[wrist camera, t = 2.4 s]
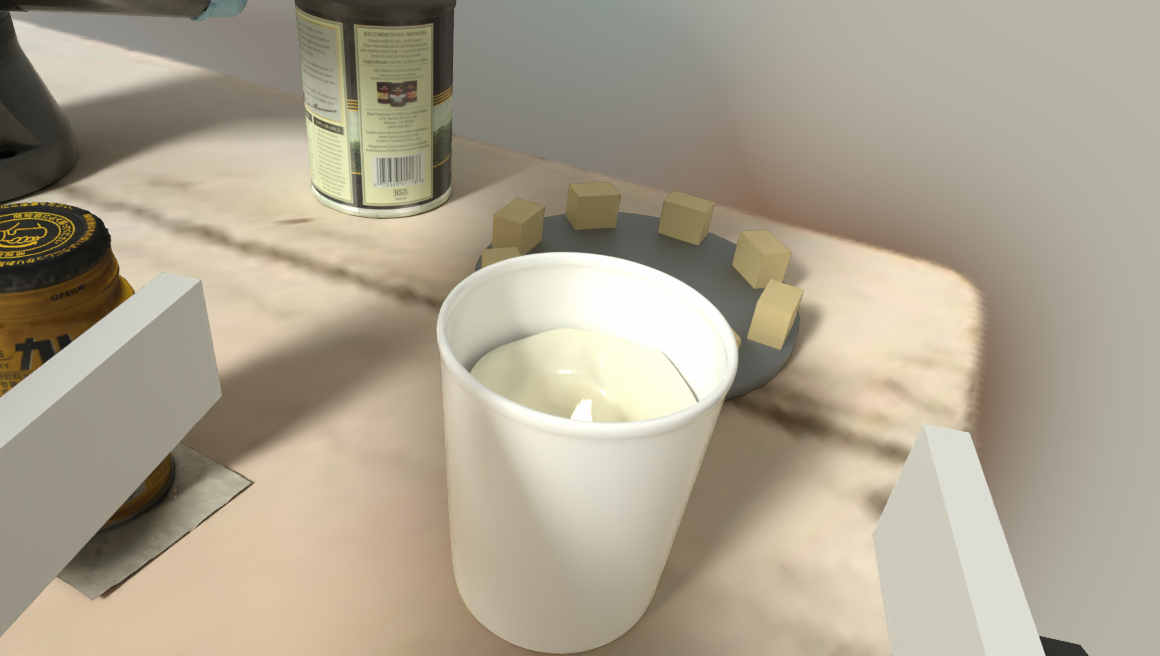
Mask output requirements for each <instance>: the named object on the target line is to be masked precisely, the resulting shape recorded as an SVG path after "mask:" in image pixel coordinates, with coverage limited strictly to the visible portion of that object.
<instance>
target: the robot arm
mask: <svg viewBox="0 0 1160 656" xmlns="http://www.w3.org/2000/svg"><path fill="white" fill-rule="evenodd" d="M246 4H247V0H0V202H3V201H6V200H10V199H13V198H17V197H20V196H23V195H26V194H28V193H31V192H34V191H36V190H38V189H41V188H43V187H45V186H47V185H49V184H51V183H53V182H55V181H56V180H58V179H59V178H61V177H62V176H64V175H65V174H66V173H67V172H69V171H70V170H71V168H72V167H73V166H74V165H75V163H76V161H77V158H78V151H77V147H76V143H75V140H74V136H73V132H72V128H71V125H70V123H69V121H68V119H67V117H66V116H65V114H64V113H63V111H62V110H61V108H60V107H59V105H58V104H57V102H56V100H55V99H54V97H53V96H52V94H51V93H50V91H49V90H48V88H47V87H46V85H45V84H44V82H43V81H42V79H41V78H40V76H39V75H38V73H37V72H36V70H35V69H34V67H33V66H32V64H31V63H30V61H29V60H28V58H27V57H26V55H25V53H24V52H23V50H22V49H21V47H20V45H19V43H18V40H17V36H16V33H15V29H14V26H13V22H12V19H11V16H10V12H9V11H24V12H28V11H32V12H56V13H80V14H102V15H126V16H127V15H128V16H150V17H151V16H152V17H173V18H174V17H175V18H190V19H191V20H193V21H203V20H205V19H207V18H222V17H223V18H224V17H233V16H236V15H238V14H239V13H241V12H242V11H243V9H244V8H245V6H246ZM221 396H222V392H221V387H220V381H219V376H218V370H217V364H216V359H215V353H214V348H213V342H212V337H211V331H210V326H209V320H208V315H207V309H206V304H205V298H204V293H203V287H202V281H201V280H200V279H195V278H190V277H185V276H180V275H175V274H170V273H165V272H162V273H161V274H160V275H158V276H157V277H156V278H154V279H153V280H152V281H151V282H149V283H148V284H147V285H145V286H144V287H143V288H141V289H140V290H139V291H138V292H136V293H135V294H134V295H132V296H131V297H130V298H129V299H127V300H126V301H125V302H123V303H122V304H121V305H119V306H118V307H117V308H116V309H114V310H113V311H112V312H110V313H109V314H108V315H107V316H105V317H104V318H103V319H101V320H100V321H99V322H97V323H96V324H95V325H94V326H92V327H91V328H90V329H88V330H87V331H86V332H85V333H83V334H82V335H81V336H79V337H78V338H77V339H75V340H74V341H73V342H72V343H70V344H69V345H68V346H66V347H65V348H64V349H63V350H61V351H60V352H59V353H57V354H56V355H55V356H53V357H52V358H51V359H50V360H48V361H47V362H46V363H44V364H43V365H42V366H41V367H39V368H38V369H37V370H35V371H34V372H33V373H32V374H30V375H29V376H28V377H26V378H25V379H24V380H22V381H21V382H20V383H19V384H17V385H16V386H15V387H13V388H12V389H11V390H10V391H8V392H7V393H6V394H4V395H3V396H2V397H0V637H1V636H2V635H3V634H4V633H5V632H6V630H7V629H8V628H9V627H10V626H11V625H12V624H13V623H14V622H15V621H16V620H17V619H18V617H19V616H20V615H21V614H22V613H23V612H24V611H25V610H26V609H27V608H28V607H29V605H30V604H31V603H32V602H33V601H34V600H35V599H36V598H37V597H38V596H39V595H40V593H41V592H42V591H43V590H44V589H45V588H46V587H47V586H48V585H49V584H50V583H51V581H52V580H53V579H54V578H55V577H56V576H57V575H58V574H59V573H60V572H61V571H62V569H63V568H64V567H65V566H66V565H67V564H68V563H69V562H70V561H71V560H72V559H73V558H74V556H75V555H76V554H77V553H78V552H79V551H80V550H81V549H82V548H83V547H84V546H85V544H86V543H87V542H88V541H89V540H90V539H91V538H92V537H93V536H94V535H95V534H96V532H97V531H98V530H99V529H100V528H101V527H102V526H103V525H104V524H105V523H106V522H107V520H108V519H109V518H110V517H111V516H112V515H113V514H114V513H115V512H116V511H117V510H118V509H119V507H120V506H121V505H122V504H123V503H124V502H125V501H126V500H127V499H128V498H129V497H130V495H131V494H132V493H133V492H134V491H135V490H136V489H137V488H138V487H139V486H140V485H141V483H142V482H143V481H144V480H145V479H146V478H147V477H148V476H149V475H150V474H151V473H152V471H153V470H154V469H155V468H156V467H157V466H158V465H159V464H160V463H161V462H162V461H163V459H164V458H165V457H166V456H167V455H168V454H169V453H170V452H171V451H172V450H173V449H174V448H175V446H176V445H177V444H178V443H179V442H180V441H181V440H182V439H183V438H184V437H185V436H186V434H187V433H188V432H189V431H190V430H191V429H192V428H193V427H194V426H195V425H196V424H197V422H198V421H199V420H200V419H201V418H202V417H203V416H204V415H205V414H206V413H207V412H208V410H209V409H210V408H211V407H212V406H213V405H214V404H215V403H216V402H217V401H218V400H219V399H220V397H221ZM873 540H874V546H875V552H876V559H877V565H878V571H879V577H880V584H881V590H882V596H883V603H884V609H885V615H886V622H887V628H888V634H889V640H890V647H891V653H892V656H1088V654H1087V653H1086V652H1085V651H1084V649H1083V648H1082V647H1081V645H1078V644H1074V643H1069V642H1064V641H1060V640H1055V639H1051V638H1046V637H1042V636H1039V635H1038V632H1037V629H1036V626H1035V623H1034V620H1033V617H1032V615H1031V612H1030V609H1029V606H1028V603H1027V600H1026V597H1025V594H1024V591H1023V588H1022V585H1021V582H1020V580H1019V577H1018V573H1017V571H1016V568H1015V565H1014V562H1013V559H1012V556H1011V553H1010V550H1009V547H1008V544H1007V541H1006V539H1005V536H1004V532H1003V529H1002V527H1001V524H1000V521H999V518H998V515H997V512H996V509H995V506H994V503H993V500H992V497H991V494H990V491H989V488H988V485H987V483H986V480H985V477H984V474H983V471H982V468H981V465H980V462H979V459H978V456H977V453H976V450H975V447H974V444H973V441H972V439H971V436H970V433H968V432H963V431H958V430H953V429H948V428H943V427H938V426H933V425H928V424H923V426H922V428H921V430H920V432H919V434H918V436H917V439H916V441H915V443H914V445H913V447H912V450H911V452H910V454H909V456H908V458H907V460H906V463H905V465H904V467H903V469H902V471H901V474H900V476H899V478H898V480H897V482H896V485H895V487H894V489H893V491H892V493H891V495H890V498H889V500H888V502H887V504H886V506H885V509H884V511H883V513H882V515H881V517H880V519H879V522H878V524H877V526H876V528H875V530H874V533H873Z"/></svg>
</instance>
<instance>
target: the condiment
mask: <svg viewBox="0 0 1160 656" xmlns="http://www.w3.org/2000/svg"><path fill="white" fill-rule="evenodd" d="M110 242H111V235H110V234H109V232H108V229H107V228H105V226H104V223H103V221H102V220H101V219H100V218H98V217H97V216H96V215H94V214H92V213H90V212H89V211H87V210H83V209H80V208H78V207H74V206H69V205H65V204H58V203H48V202H45V203H39V202H32V203H27V202H26V203H16V204H10V205H3V206H0V397H2V396H3V395H4V394H6V393H7V392H8V391H10V390H11V389H12V388H13V387H15V386H16V385H17V384H19V383H20V382H21V381H22V380H24V379H25V378H26V377H28V376H29V375H30V374H32V373H33V372H34V371H35V370H37V369H38V368H39V367H41V366H42V365H43V364H44V363H46V362H47V361H48V360H50V359H51V358H52V357H53V356H55V355H56V354H57V353H59V352H60V351H61V350H63V349H64V348H65V347H66V346H68V345H69V344H70V343H72V342H73V341H74V340H75V339H77V338H78V337H79V336H81V335H82V334H83V333H85V332H86V331H87V330H88V329H90V328H91V327H92V326H94V325H95V324H96V323H97V322H99V321H100V320H101V319H103V318H104V317H105V316H107V315H108V314H109V313H110V312H112V311H113V310H114V309H116V308H117V307H118V306H119V305H121V304H122V303H123V302H125V301H126V300H127V299H129V298H130V297H131V296H132V295H134V294H135V292H134V290H133V288H132V287H131V285H130V284H129V283H128V282H127V280H126V279H125V278H123V277H122V276H121V275H119V265H118V262H117V259H116V258H115V256H114V254H113V252H112V250H111V244H110ZM250 483H251V482H249V481H248V480H246V479H244V478H242V477H241V476H240V475H238V474H236V473H234V472H232V471H230V470H228V469H226V468H225V467H223V466H222V465H221V464H219V463H218V462H215V461H213V460H211V459H209V458H207V457H206V456H204V455H203V454H201V453H200V452H197V451H195V450H193V449H192V448H190V447H188V446H186V445H183V444H181V443H180V442H179V443H178V444H177V445H176V446H175V448H174V449H173V450H172V451H171V452H170V453H169V454H168V455H167V456H166V457H165V458H164V459H163V461H162V462H161V463H160V464H159V465H158V466H157V467H156V468H155V469H154V470H153V471H152V473H151V474H150V475H149V476H148V477H147V478H146V479H145V480H144V481H143V482H142V483H141V485H140V486H139V487H138V488H137V489H136V490H135V491H134V492H133V493H132V494H131V495H130V497H129V498H128V499H127V500H126V501H125V502H124V503H123V504H122V505H121V506H120V507H119V509H118V510H117V511H116V512H115V513H114V514H113V515H112V516H111V517H110V518H109V519H108V520H107V522H106V523H105V524H104V525H103V526H102V527H101V528H100V529H99V530H98V531H97V532H96V534H95V535H94V536H93V537H92V538H91V539H90V540H89V541H88V542H87V543H86V544H85V546H84V547H83V548H82V549H81V550H80V551H79V552H78V553H77V554H76V555H75V556H74V558H73V559H72V560H71V561H70V562H69V563H68V564H67V565H66V566H65V567H64V568H63V569H62V571H61V572H60V573H59V574H58V575H57V576H56V577H58V578H60V579H61V580H63V581H64V582H66V583H68V584H70V585H71V586H73V587H75V588H76V589H77V590H78V591H80V592H81V593H82V594H84V595H85V596H87V597H88V598H90V599H91V600H94V599H95V598H97V597H98V596H100V595H101V594H102V593H104V592H105V591H107V590H108V589H109V588H110V587H112V586H113V585H116V584H118V583H120V582H121V581H122V580H124V579H125V578H126V577H127V576H129V575H130V574H132V573H133V572H135V571H136V570H137V569H139V568H140V567H142V566H143V565H144V564H145V563H146V562H148V561H149V560H150V559H152V558H154V557H156V556H157V555H158V554H160V553H161V552H162V551H164V550H165V549H166V548H168V547H169V546H170V545H172V544H173V543H174V542H175V541H177V540H178V539H179V538H181V537H182V536H183V535H184V534H186V533H187V532H191V531H192V530H193V529H195V527H196V526H197V525H198V524H199V523H200V522H201V521H202V520H204V519H205V518H206V517H207V516H209V515H210V514H211V513H212V512H214V511H215V510H217V509H219V508H220V507H221V506H223V505H224V504H226V503H227V502H228V501H229V500H230V499H231V498H232V497H233V496H235V495H236V494H237V493H238V492H240V491H241V490H242V489H244V488H245V487H246V486H248V485H249V484H250ZM174 487H177V488H178V489H177V491H173V489H174ZM175 494H178V498H177V499H174V495H175Z"/></svg>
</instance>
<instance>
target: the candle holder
mask: <svg viewBox="0 0 1160 656" xmlns="http://www.w3.org/2000/svg"><path fill="white" fill-rule="evenodd" d="M437 343H438V348H439V351H440V362H441V379H442V397H443V416H444V434H445V452H446V471H447V489H448V507H449V524H450V540H451V554H452V564H453V572H454V577H455V581H456V585H457V588H458V591H459V593H460V595H461V597H462V599H463V601H464V603H465V605H466V606H467V608H468V609H469V611H470V612H471V613H472V614H473V616H474V617H475V618H476V619H477V620H478V621H479V622H480V623H481V624H482V625H483V626H484V627H486V628H487V629H488V630H489V631H491V632H492V633H494V634H495V635H497V636H498V637H500V638H502V639H503V640H505V641H507V642H509V643H512V644H514V645H517V646H519V647H522V648H525V649H529V650H533V651H537V652H543V653H553V654H567V653H577V652H583V651H588V650H592V649H595V648H598V647H601V646H603V645H606V644H608V643H610V642H612V641H614V640H615V639H617V638H619V637H620V636H622V635H623V634H624V633H626V632H627V631H628V630H629V629H631V628H632V627H633V626H634V625H635V624H636V623H637V621H638V620H639V619H640V618H641V616H642V615H643V614H644V612H645V611H646V609H647V607H648V605H649V604H650V602H651V600H652V597H653V595H654V593H655V590H656V588H657V585H658V583H659V580H660V577H661V575H662V572H663V569H664V567H665V564H666V561H667V558H668V556H669V553H670V550H671V547H672V545H673V542H674V539H675V536H676V534H677V531H678V528H679V525H680V522H681V520H682V517H683V514H684V511H685V508H686V506H687V503H688V500H689V497H690V494H691V492H692V489H693V486H694V483H695V480H696V478H697V475H698V472H699V469H700V466H701V464H702V461H703V458H704V455H705V452H706V450H707V447H708V444H709V441H710V438H711V436H712V433H713V430H714V427H715V424H716V422H717V419H718V416H719V413H720V410H721V408H722V405H723V402H724V400H725V397H726V394H727V393H728V391H729V389H730V388H731V386H732V384H733V381H734V379H735V376H736V372H737V368H738V347H737V342H736V339H735V336H734V333H733V331H732V329H731V327H730V325H729V324H728V322H727V321H726V319H725V318H724V316H723V315H722V314H721V312H720V311H719V310H718V309H717V308H716V307H715V306H714V305H713V304H712V303H711V302H710V301H709V300H708V299H706V298H705V297H704V296H703V295H701V294H700V293H699V292H697V291H696V290H695V289H693V288H692V287H690V286H688V285H687V284H685V283H683V282H682V281H680V280H678V279H676V278H674V277H672V276H670V275H668V274H666V273H664V272H661V271H659V270H656V269H654V268H651V267H648V266H645V265H642V264H639V263H636V262H632V261H629V260H625V259H620V258H616V257H611V256H605V255H598V254H590V253H578V252H549V253H537V254H530V255H523V256H518V257H514V258H510V259H506V260H503V261H500V262H497V263H494V264H491V265H489V266H486V267H484V268H482V269H480V270H478V271H476V272H474V273H473V274H471V275H470V276H468V277H467V278H465V279H464V280H463V281H461V282H460V283H459V284H458V285H457V286H456V287H455V288H454V289H453V290H452V291H451V292H450V293H449V295H448V296H447V298H446V299H445V301H444V303H443V305H442V307H441V309H440V312H439V315H438V320H437Z"/></svg>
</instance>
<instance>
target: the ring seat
mask: <svg viewBox="0 0 1160 656" xmlns="http://www.w3.org/2000/svg"><path fill="white" fill-rule="evenodd" d="M620 196H621V195H620V193H619V192H618V191H617V190H616V189H615V187H614V186H613V185H612V184H611V183H610V182H599V183H576V184H569V192H568V201H567V210H566V214H562V215H556V216H550V217H546V218H544V209H545V206H541V205H538V204H535V203H532V202H529V201H526V200H523V199H520V198H517V199H515V200H514V201H512V202H511V203H510V204H508V205H507V206H505V207H504V208H502V209H501V210H500V211H498V212H497V213H495V214H494V221H493V238H492V243H491V244H490V245H489V246H488V247H487V248H486V249H482V255H481V256H480V259H479V261H478V263H477V265H476V269H475V272H476V271H478V270H480V269H482V268H484V267H486V266H489V265H491V264H494V263H497V262H500V261H503V260H506V259H510V258H514V257H518V256H523V255H530V254H537V253H549V252H578V253H590V254H598V255H605V256H611V257H616V258H620V259H625V260H629V261H632V262H636V263H639V264H642V265H645V266H648V267H651V268H654V269H656V270H659V271H661V272H664V273H666V274H668V275H670V276H672V277H674V278H676V279H678V280H680V281H682V282H683V283H685V284H687V285H688V286H690V287H692V288H693V289H695V290H696V291H697V292H699V293H700V294H701V295H703V296H704V297H705V298H706V299H708V300H709V301H710V302H711V303H712V304H713V305H714V306H715V307H716V308H717V309H718V310H719V311H720V312H721V314H722V315H723V316H724V318H725V319H726V321H727V322H728V324H729V325H730V327H731V329H732V331H733V333H734V336H735V339H736V342H737V347H738V368H737V372H736V376H735V379H734V381H733V384H732V386H731V388H730V389H729V391H728V393H727V394H726V397H725V400H724V401H726V400H729V399H732V398H735V397H738V396H741V395H744V394H747V393H749V392H751V391H753V390H755V389H757V388H759V387H761V386H762V385H764V384H765V383H767V382H768V381H769V380H771V379H772V378H774V377H775V376H776V375H777V374H778V373H779V372H780V370H781V369H782V368H783V367H784V366H785V364H786V362H787V361H788V359H789V357H790V355H791V352H792V349H793V346H794V343H795V340H796V336H797V333H798V330H799V313H798V307H799V304H800V301H801V298H802V295H803V292H804V290H803V289H800V288H797V287H794V286H790V285H787V284H785V283H784V282H783V279H784V275H785V272H786V269H787V265H788V262H789V259H790V255H791V251H790V250H788V249H787V248H786V247H785V246H784V245H783V244H782V243H781V242H780V241H779V240H778V239H777V238H776V237H775V236H774V235H772V234H771V233H770V232H769V231H768V230H753V231H740V235H739V239H738V243H737V245H735V244H733V243H731V242H729V241H727V240H725V239H723V238H721V237H719V236H716V235H714V234H711V233H709V232H708V230H709V226H710V222H711V217H712V213H713V208H714V204H715V202H712V201H709V200H705V199H702V198H699V197H695V196H692V195H689V194H685V193H682V192H678V191H675V190H674V191H673V192H672V193H671V194H670V195H669V196H668V197H667V198H666V199H665V200H664V203H663V209H662V214H661V218H657V217H651V216H645V215H638V214H629V213H619V212H618V209H619V202H620Z"/></svg>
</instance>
